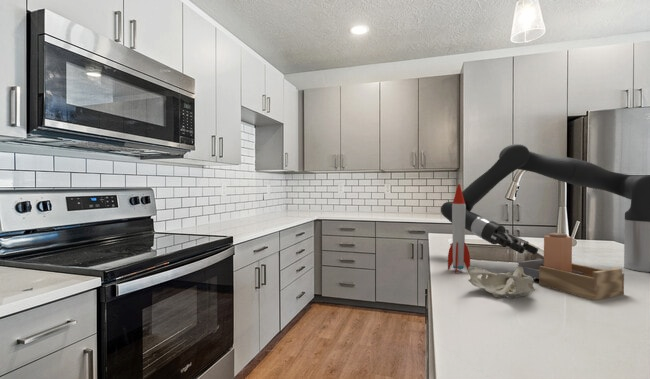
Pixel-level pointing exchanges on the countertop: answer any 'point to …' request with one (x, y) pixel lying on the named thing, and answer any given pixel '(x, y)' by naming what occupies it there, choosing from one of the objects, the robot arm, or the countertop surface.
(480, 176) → the robot arm
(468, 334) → the countertop surface
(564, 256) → the tin
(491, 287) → the anatomical model
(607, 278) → the dock
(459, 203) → the toy rocket
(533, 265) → the tray
